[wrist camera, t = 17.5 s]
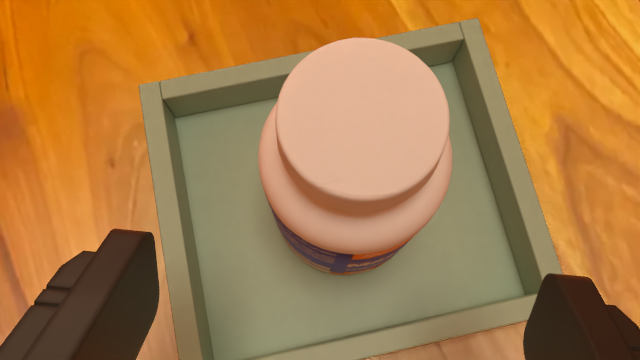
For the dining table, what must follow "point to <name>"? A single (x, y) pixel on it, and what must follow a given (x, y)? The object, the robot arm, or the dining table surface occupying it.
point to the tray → (310, 283)
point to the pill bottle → (355, 154)
